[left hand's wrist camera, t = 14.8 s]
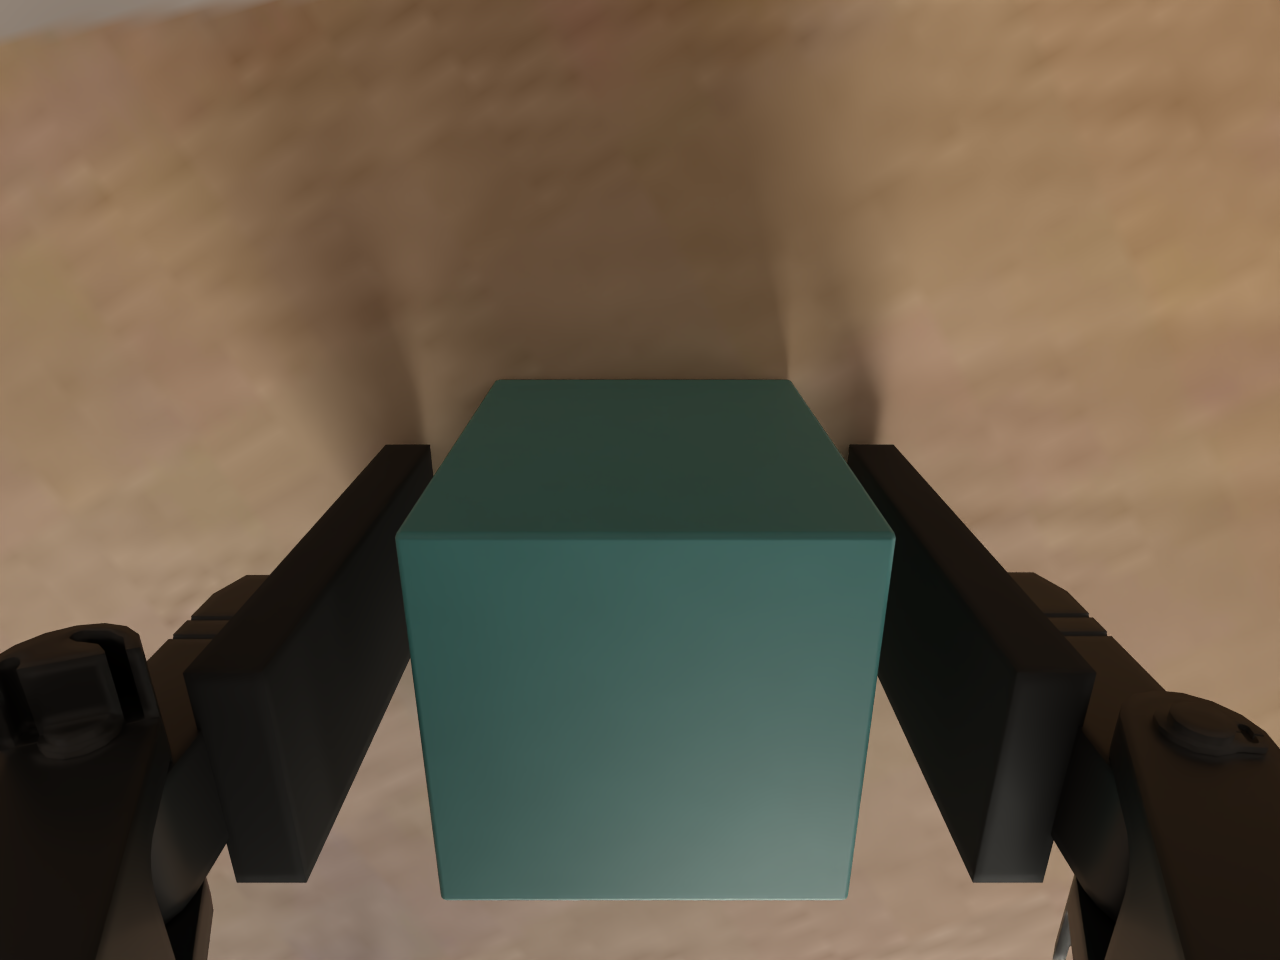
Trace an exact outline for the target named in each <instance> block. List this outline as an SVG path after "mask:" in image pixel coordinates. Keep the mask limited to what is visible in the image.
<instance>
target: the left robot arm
mask: <svg viewBox="0 0 1280 960" xmlns="http://www.w3.org/2000/svg"><path fill="white" fill-rule="evenodd" d="M848 466H849V467H850V469H851V470H852V472H853V473H854V475H855V476H856V477H857V479H858V480H859V482H860V483H861V485H862V486H863V488H864V489H865V491H866V492H867V494H868V495H869V497H870V498H871V499H872V501H873V502H874V504H875V505H876V507H877V508H878V510H879V511H880V513H881V514H882V516H883V517H884V518H885V520H886V521H887V523H888V524H889V526H890V527H891V529H892V530H893V532H894V534H895V537H896V540H895V548H894V555H893V562H892V570H891V577H890V585H889V592H888V600H887V607H886V615H885V622H884V629H883V637H882V644H881V652H880V659H879V667H878V674H877V675H878V678H879V680H880V682H881V684H882V686H883V688H884V691H885V693H886V695H887V697H888V699H889V702H890V704H891V706H892V708H893V710H894V712H895V715H896V717H897V719H898V721H899V723H900V725H901V728H902V730H903V732H904V734H905V736H906V738H907V741H908V743H909V745H910V747H911V749H912V751H913V754H914V756H915V758H916V760H917V762H918V764H919V767H920V769H921V771H922V773H923V775H924V777H925V780H926V782H927V784H928V786H929V788H930V790H931V793H932V795H933V797H934V799H935V801H936V803H937V806H938V808H939V810H940V812H941V814H942V816H943V819H944V821H945V823H946V825H947V827H948V829H949V832H950V834H951V836H952V838H953V840H954V842H955V845H956V847H957V849H958V851H959V853H960V855H961V858H962V860H963V862H964V864H965V866H966V868H967V871H968V873H969V875H970V877H971V879H972V881H973V883H1043V879H1044V875H1045V871H1046V868H1047V864H1048V860H1049V856H1050V852H1051V848H1052V844H1053V840H1054V841H1055V843H1056V845H1057V846H1058V848H1059V850H1060V851H1061V853H1062V855H1063V856H1064V858H1065V860H1066V861H1067V863H1068V864H1069V866H1070V868H1071V869H1072V871H1073V873H1074V878H1073V882H1072V885H1071V889H1070V892H1069V896H1068V900H1067V903H1066V907H1065V911H1064V914H1063V918H1062V921H1061V925H1060V929H1059V932H1058V936H1057V939H1056V943H1055V949H1054V955H1053V960H1066V956H1067V953H1068V949H1069V947H1070V946H1072V954H1073V960H1280V749H1279V747H1278V746H1277V745H1276V744H1275V743H1274V741H1273V740H1272V739H1271V738H1270V737H1269V735H1268V734H1267V733H1266V732H1265V731H1264V730H1262V729H1261V728H1259V727H1258V726H1257V725H1255V724H1254V723H1252V722H1251V721H1249V720H1248V719H1247V718H1245V717H1244V716H1242V715H1241V714H1238V713H1236V712H1234V711H1232V710H1230V709H1228V708H1225V707H1223V706H1221V705H1219V704H1217V703H1215V702H1212V701H1209V700H1205V699H1202V698H1198V697H1195V696H1191V695H1188V694H1184V693H1177V692H1167V691H1165V690H1164V689H1163V688H1162V687H1161V686H1160V685H1159V684H1158V683H1157V682H1156V681H1155V680H1154V679H1153V678H1152V677H1151V676H1150V675H1149V674H1148V673H1147V672H1146V671H1145V670H1144V668H1143V667H1142V666H1141V665H1140V664H1139V663H1138V662H1137V661H1136V660H1135V659H1134V658H1133V657H1132V656H1131V655H1130V654H1129V653H1128V652H1127V651H1126V650H1125V649H1124V648H1123V647H1122V646H1121V645H1120V644H1119V643H1118V642H1117V641H1116V640H1115V639H1114V638H1113V637H1112V636H1107V631H1106V630H1105V629H1104V628H1103V627H1102V626H1101V625H1100V624H1099V623H1098V622H1097V621H1096V620H1095V619H1094V618H1089V613H1088V612H1087V611H1086V610H1085V609H1084V608H1083V607H1082V606H1081V605H1080V604H1079V603H1078V602H1077V601H1076V600H1075V599H1074V598H1073V597H1072V596H1071V595H1070V594H1069V593H1068V592H1067V591H1066V590H1064V589H1062V588H1060V587H1058V586H1057V585H1055V584H1053V583H1051V582H1050V581H1048V580H1046V579H1044V578H1042V577H1041V576H1039V575H1037V574H1035V573H1034V572H1006V570H1005V569H1004V568H1003V567H1002V566H1001V565H1000V564H999V563H998V561H997V560H996V559H995V558H994V557H993V556H992V555H991V554H990V552H989V551H988V550H987V549H986V548H985V547H984V546H983V545H982V543H981V542H980V541H979V540H978V539H977V538H976V537H975V536H974V535H973V533H972V532H971V531H970V530H969V529H968V528H967V527H966V526H965V524H964V523H963V522H962V521H961V520H960V519H959V518H958V517H957V515H956V514H955V513H954V512H953V511H952V510H951V509H950V508H949V506H948V505H947V504H946V503H945V502H944V501H943V500H942V499H941V497H940V496H939V495H938V494H937V493H936V492H935V491H934V490H933V489H932V487H931V486H930V485H929V484H928V483H927V482H926V481H925V480H924V478H923V477H922V476H921V475H920V474H919V473H918V472H917V471H916V469H915V468H914V467H913V466H912V465H911V464H910V463H909V462H908V460H907V459H906V458H905V457H904V456H903V455H902V454H901V453H900V452H899V450H898V449H897V448H896V447H895V446H894V445H850V446H849V455H848ZM432 478H433V470H432V460H431V451H430V445H385V446H384V448H383V449H382V450H381V451H380V452H379V453H378V454H377V455H376V457H375V458H374V459H373V460H372V461H371V462H370V463H369V464H368V465H367V467H366V468H365V469H364V470H363V471H362V472H361V473H360V474H359V476H358V477H357V478H356V479H355V480H354V481H353V482H352V483H351V485H350V486H349V487H348V488H347V489H346V490H345V491H344V492H343V494H342V495H341V496H340V497H339V498H338V499H337V500H336V501H335V502H334V504H333V505H332V506H331V507H330V508H329V509H328V510H327V511H326V513H325V514H324V515H323V516H322V517H321V518H320V519H319V520H318V522H317V523H316V524H315V525H314V526H313V527H312V528H311V529H310V531H309V532H308V533H307V534H306V535H305V536H304V537H303V538H302V539H301V541H300V542H299V543H298V544H297V545H296V546H295V547H294V548H293V550H292V551H291V552H290V553H289V554H288V555H287V556H286V557H285V559H284V560H283V561H282V562H281V563H280V564H279V565H278V566H277V568H276V569H275V570H274V571H273V572H272V573H271V574H270V575H246V576H244V577H242V578H241V579H239V580H237V581H235V582H233V583H232V584H230V585H228V586H226V587H225V588H223V589H221V590H219V591H218V592H216V593H214V594H213V595H212V596H211V597H210V598H209V599H208V600H207V601H206V602H205V603H204V604H203V605H202V606H201V607H200V608H199V609H198V610H197V611H196V612H195V613H194V614H193V615H192V616H191V617H192V618H191V620H187V621H186V622H185V623H184V624H183V625H182V626H181V627H180V628H179V629H178V630H177V631H176V632H175V633H174V634H173V639H168V640H167V641H166V642H165V643H164V644H163V645H162V646H161V647H160V648H159V650H158V651H157V652H156V653H155V654H154V655H153V656H152V657H151V658H150V659H149V660H148V661H146V658H145V654H144V651H143V647H142V643H141V640H140V636H139V634H138V633H136V632H135V631H133V630H132V629H130V628H129V627H127V626H122V625H114V624H107V623H101V624H89V625H78V626H73V627H69V628H65V629H61V630H56V631H52V632H48V633H45V634H42V635H40V636H37V637H34V638H32V639H29V640H27V641H24V642H22V643H19V644H17V645H14V646H13V647H11V648H9V649H8V650H6V651H4V652H3V653H1V654H0V960H207V957H208V949H209V941H210V933H211V925H212V917H213V905H212V898H211V892H210V889H209V885H208V882H207V878H206V876H207V874H208V873H209V871H210V870H211V868H212V866H213V865H214V863H215V861H216V860H217V858H218V856H219V855H220V853H221V851H222V850H223V848H224V846H225V845H226V843H227V847H228V850H229V854H230V858H231V862H232V866H233V870H234V874H235V877H236V881H237V883H307V880H308V878H309V876H310V874H311V872H312V870H313V867H314V865H315V863H316V861H317V859H318V856H319V854H320V852H321V850H322V848H323V846H324V843H325V841H326V839H327V837H328V835H329V833H330V830H331V828H332V826H333V824H334V822H335V820H336V817H337V815H338V813H339V811H340V809H341V807H342V804H343V802H344V800H345V798H346V796H347V794H348V791H349V789H350V787H351V785H352V783H353V781H354V778H355V776H356V774H357V772H358V770H359V768H360V765H361V763H362V761H363V759H364V757H365V755H366V752H367V750H368V748H369V746H370V744H371V742H372V739H373V737H374V735H375V733H376V731H377V729H378V726H379V724H380V722H381V720H382V718H383V716H384V713H385V711H386V709H387V707H388V705H389V703H390V700H391V698H392V696H393V694H394V692H395V690H396V687H397V685H398V683H399V681H400V679H401V677H402V674H403V672H404V670H405V668H406V666H407V664H408V661H409V659H410V650H409V642H408V634H407V627H406V619H405V611H404V603H403V595H402V588H401V580H400V572H399V564H398V557H397V549H396V541H395V536H396V533H397V532H398V530H399V528H400V527H401V525H402V524H403V522H404V521H405V519H406V518H407V516H408V515H409V513H410V512H411V510H412V509H413V507H414V505H415V504H416V502H417V501H418V499H419V498H420V496H421V495H422V493H423V492H424V490H425V489H426V487H427V486H428V484H429V483H430V481H431V479H432Z"/></svg>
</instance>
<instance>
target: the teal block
mask: <svg viewBox="0 0 1280 960" xmlns="http://www.w3.org/2000/svg"><path fill="white" fill-rule="evenodd" d="M895 540H896V537H895V534H894V532H893V530H892V529H891V527H890V526H889V524H888V523H887V521H886V520H885V518H884V517H883V516H882V514H881V513H880V511H879V510H878V508H877V507H876V505H875V504H874V502H873V501H872V499H871V498H870V497H869V495H868V494H867V492H866V491H865V489H864V488H863V486H862V485H861V483H860V482H859V480H858V479H857V477H856V476H855V475H854V473H853V472H852V470H851V469H850V467H849V466H848V464H847V463H846V461H845V460H844V458H843V457H842V455H841V454H840V453H839V451H838V450H837V448H836V447H835V445H834V444H833V442H832V441H831V439H830V438H829V436H828V435H827V434H826V432H825V431H824V429H823V428H822V426H821V425H820V423H819V422H818V420H817V419H816V417H815V416H814V414H813V413H812V412H811V410H810V409H809V407H808V406H807V404H806V403H805V401H804V400H803V398H802V397H801V395H800V394H799V393H798V391H797V390H796V388H795V387H794V385H793V384H792V382H791V381H789V380H497V381H495V383H494V385H493V386H492V388H491V389H490V391H489V392H488V394H487V395H486V397H485V398H484V400H483V401H482V403H481V404H480V406H479V408H478V409H477V411H476V412H475V414H474V415H473V417H472V418H471V420H470V421H469V423H468V424H467V426H466V427H465V429H464V430H463V432H462V434H461V435H460V437H459V438H458V440H457V441H456V443H455V444H454V446H453V447H452V449H451V450H450V452H449V453H448V455H447V457H446V458H445V460H444V461H443V463H442V464H441V466H440V467H439V469H438V470H437V472H436V473H435V475H434V476H433V478H432V479H431V481H430V483H429V484H428V486H427V487H426V489H425V490H424V492H423V493H422V495H421V496H420V498H419V499H418V501H417V502H416V504H415V505H414V507H413V509H412V510H411V512H410V513H409V515H408V516H407V518H406V519H405V521H404V522H403V524H402V525H401V527H400V528H399V530H398V532H397V533H396V536H395V541H396V549H397V557H398V564H399V572H400V580H401V588H402V595H403V603H404V611H405V619H406V627H407V634H408V642H409V650H410V658H411V665H412V673H413V681H414V689H415V697H416V704H417V712H418V720H419V728H420V735H421V743H422V751H423V759H424V767H425V774H426V782H427V790H428V798H429V805H430V813H431V821H432V829H433V837H434V844H435V852H436V860H437V868H438V875H439V883H440V891H441V896H442V898H443V899H445V900H844V899H846V898H847V896H848V890H849V883H850V875H851V868H852V860H853V853H854V846H855V838H856V831H857V823H858V816H859V808H860V801H861V793H862V786H863V778H864V771H865V764H866V756H867V749H868V741H869V734H870V726H871V719H872V711H873V704H874V697H875V689H876V682H877V674H878V667H879V659H880V652H881V644H882V637H883V629H884V622H885V615H886V607H887V600H888V592H889V585H890V577H891V570H892V562H893V555H894V548H895Z"/></svg>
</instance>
